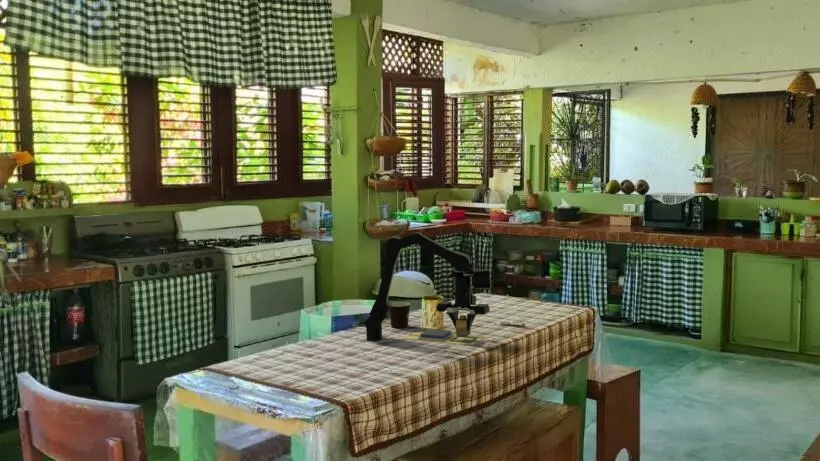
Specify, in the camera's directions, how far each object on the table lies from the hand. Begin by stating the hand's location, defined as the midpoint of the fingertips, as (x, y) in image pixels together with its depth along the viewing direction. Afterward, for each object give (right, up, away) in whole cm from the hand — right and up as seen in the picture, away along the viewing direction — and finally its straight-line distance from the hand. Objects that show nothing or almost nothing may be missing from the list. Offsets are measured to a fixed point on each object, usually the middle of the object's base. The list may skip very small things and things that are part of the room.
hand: (463, 331), depth 277 cm
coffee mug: (-23, -3, +26) cm, 34 cm away
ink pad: (-10, -3, +5) cm, 11 cm away
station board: (-7, -4, +4) cm, 9 cm away
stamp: (0, -1, 0) cm, 1 cm away
